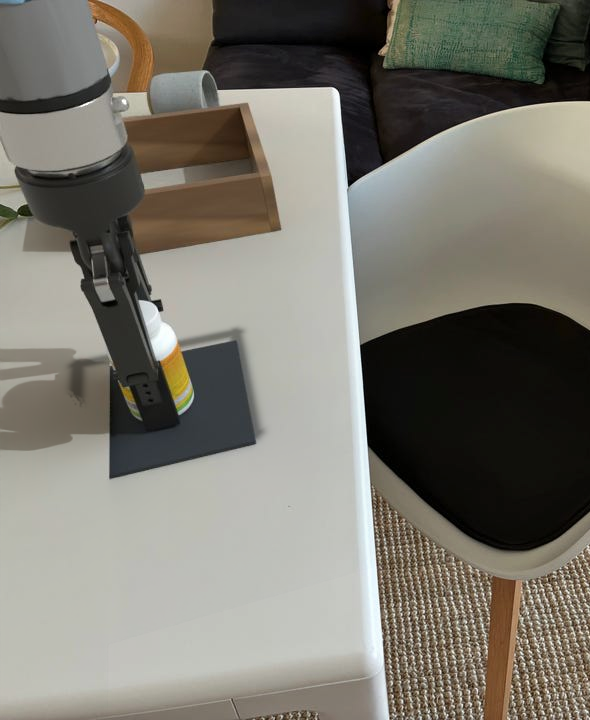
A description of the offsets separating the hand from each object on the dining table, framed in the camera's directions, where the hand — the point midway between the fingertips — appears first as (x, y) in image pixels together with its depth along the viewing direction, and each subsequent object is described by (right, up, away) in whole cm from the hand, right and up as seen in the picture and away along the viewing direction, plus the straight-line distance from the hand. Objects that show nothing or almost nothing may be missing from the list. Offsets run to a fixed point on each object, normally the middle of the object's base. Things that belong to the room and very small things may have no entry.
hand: (161, 400), depth 68 cm
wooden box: (-9, +23, +28) cm, 37 cm away
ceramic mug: (-14, +36, +43) cm, 58 cm away
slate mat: (0, -1, 0) cm, 1 cm away
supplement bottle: (0, 0, 0) cm, 1 cm away
